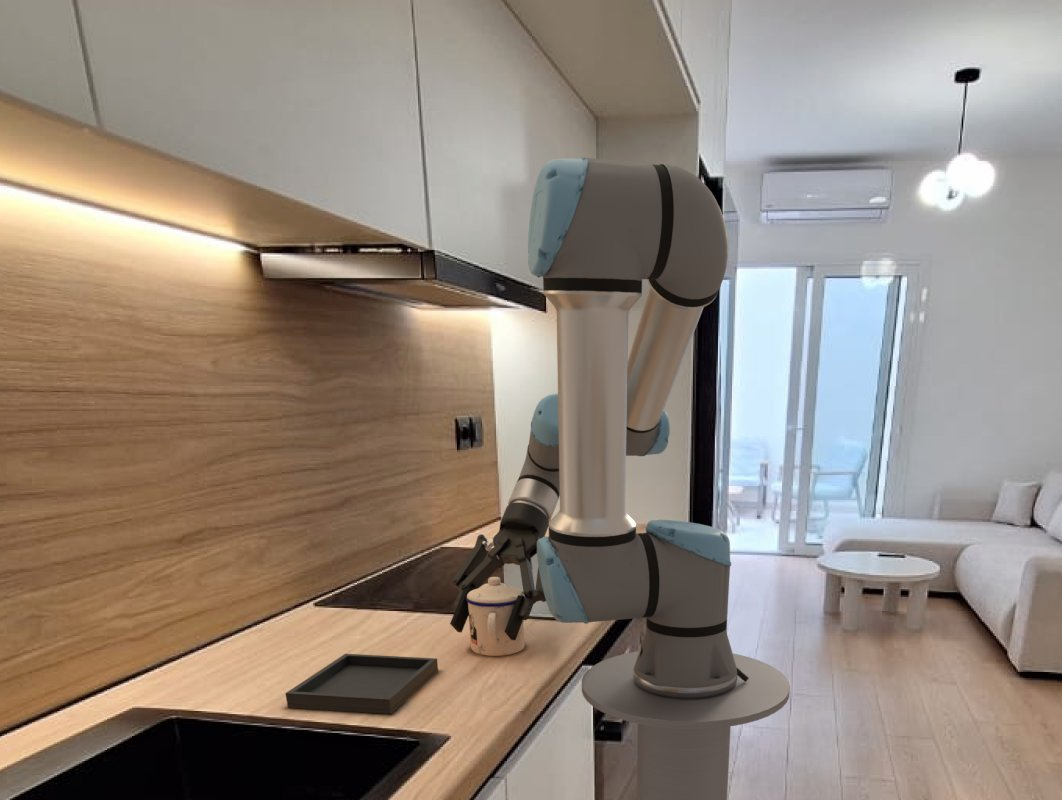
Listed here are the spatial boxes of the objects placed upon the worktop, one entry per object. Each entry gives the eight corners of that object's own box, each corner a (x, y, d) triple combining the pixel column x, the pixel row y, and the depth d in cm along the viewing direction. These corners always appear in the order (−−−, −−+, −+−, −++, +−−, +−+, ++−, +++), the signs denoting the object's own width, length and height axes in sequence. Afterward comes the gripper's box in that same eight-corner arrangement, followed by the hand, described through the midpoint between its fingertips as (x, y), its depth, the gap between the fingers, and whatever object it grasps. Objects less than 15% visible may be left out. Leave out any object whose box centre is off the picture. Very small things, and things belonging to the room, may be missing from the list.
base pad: (438, 671, 121) (437, 658, 120) (391, 714, 106) (389, 699, 105) (346, 666, 123) (345, 653, 122) (287, 707, 108) (285, 693, 107)
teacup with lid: (473, 639, 135) (469, 571, 131) (528, 639, 136) (525, 571, 132) (463, 663, 124) (458, 590, 120) (522, 663, 125) (519, 589, 120)
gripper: (595, 532, 134) (553, 652, 126) (481, 522, 141) (434, 634, 133) (581, 504, 127) (535, 629, 119) (462, 495, 135) (412, 611, 127)
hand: (482, 632), depth 126 cm, fingers closed on teacup with lid, 9 cm apart
